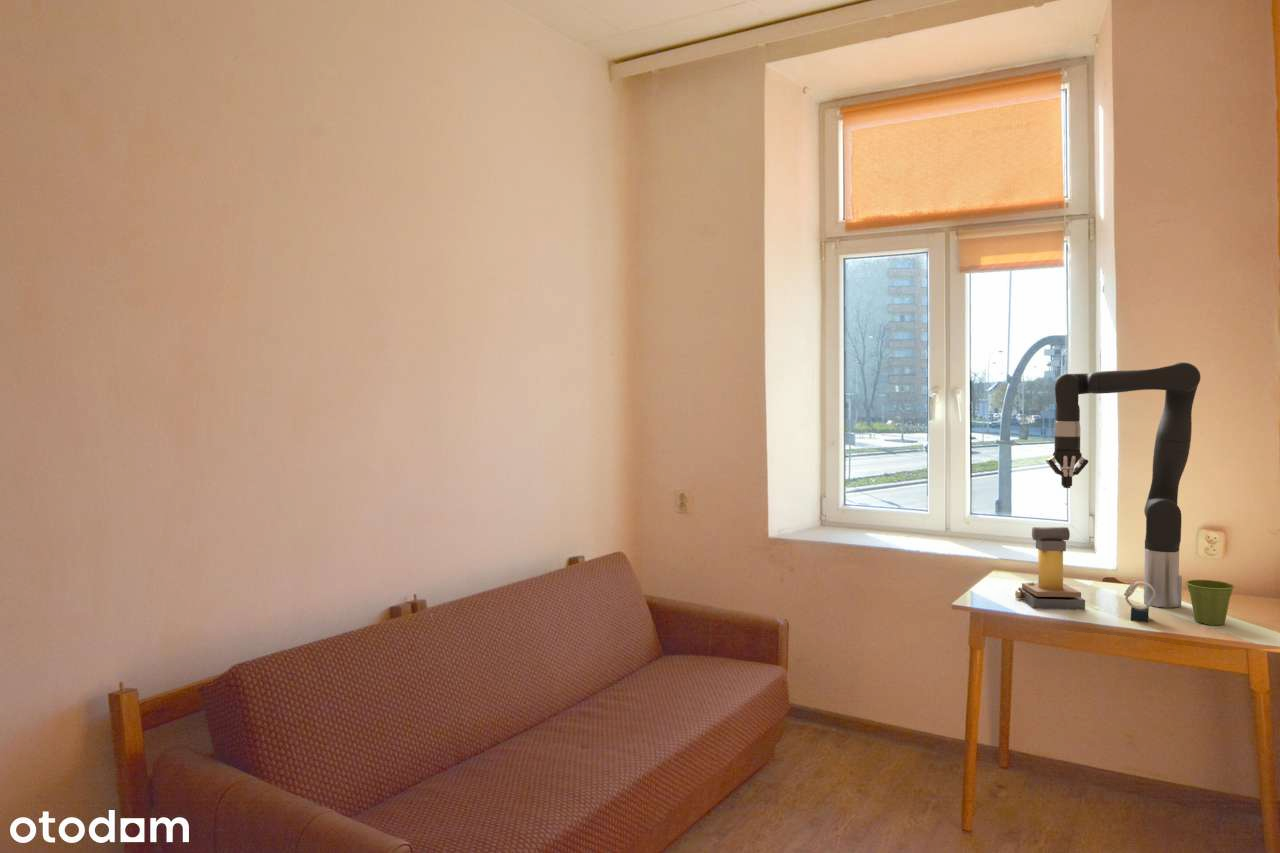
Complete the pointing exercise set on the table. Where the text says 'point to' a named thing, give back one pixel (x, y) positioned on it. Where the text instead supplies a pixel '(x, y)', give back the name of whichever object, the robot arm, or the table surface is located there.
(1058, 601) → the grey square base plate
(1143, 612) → the watch
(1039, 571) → the wooden pedestal stand
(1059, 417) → the robot arm
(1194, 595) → the plant pot
